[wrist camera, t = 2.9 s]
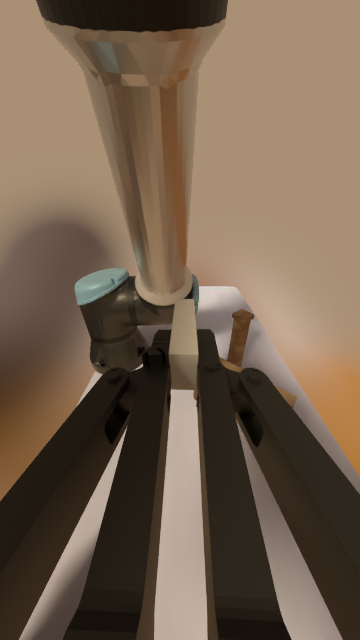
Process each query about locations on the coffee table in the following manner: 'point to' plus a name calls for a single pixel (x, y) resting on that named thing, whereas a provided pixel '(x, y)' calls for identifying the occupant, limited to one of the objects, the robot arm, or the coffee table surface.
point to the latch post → (239, 336)
